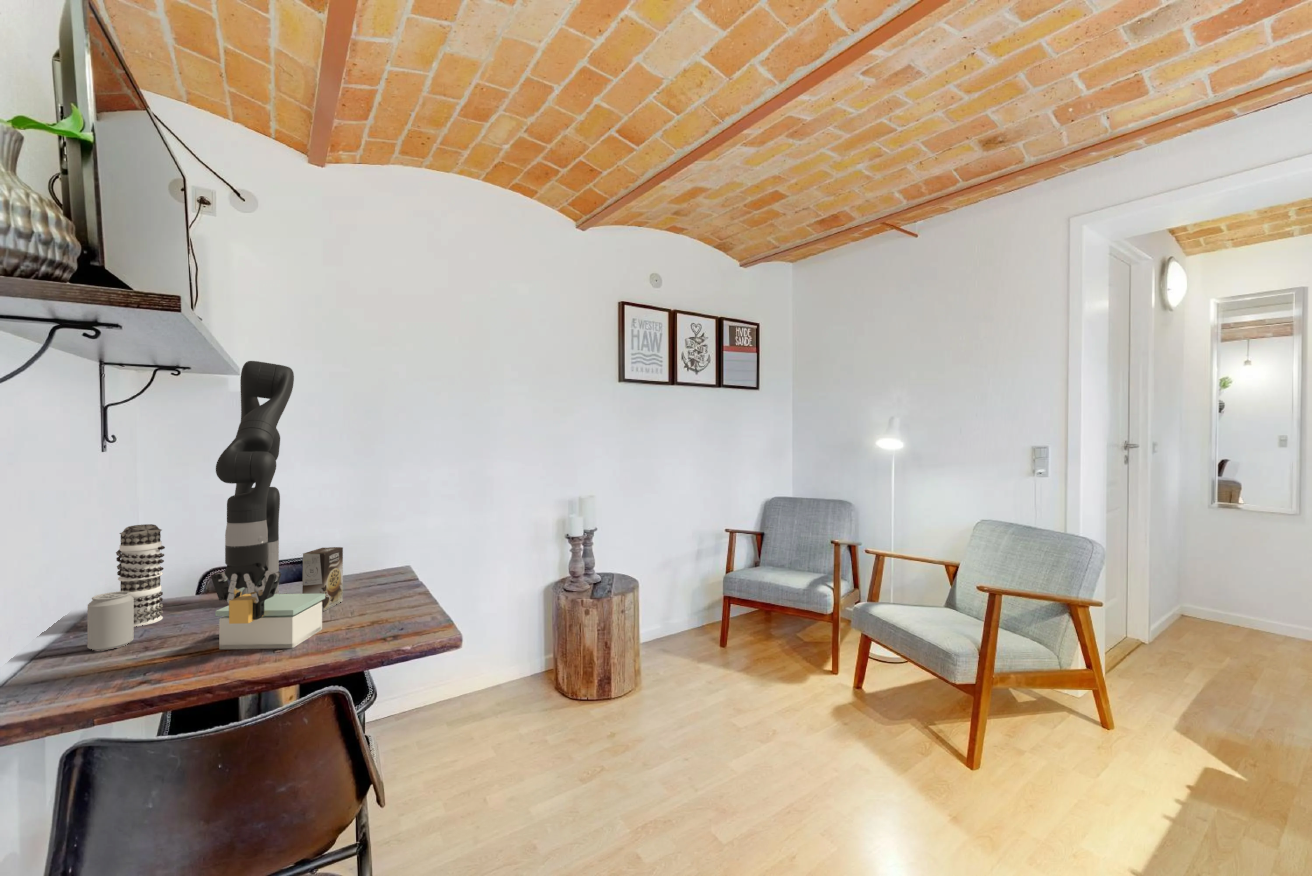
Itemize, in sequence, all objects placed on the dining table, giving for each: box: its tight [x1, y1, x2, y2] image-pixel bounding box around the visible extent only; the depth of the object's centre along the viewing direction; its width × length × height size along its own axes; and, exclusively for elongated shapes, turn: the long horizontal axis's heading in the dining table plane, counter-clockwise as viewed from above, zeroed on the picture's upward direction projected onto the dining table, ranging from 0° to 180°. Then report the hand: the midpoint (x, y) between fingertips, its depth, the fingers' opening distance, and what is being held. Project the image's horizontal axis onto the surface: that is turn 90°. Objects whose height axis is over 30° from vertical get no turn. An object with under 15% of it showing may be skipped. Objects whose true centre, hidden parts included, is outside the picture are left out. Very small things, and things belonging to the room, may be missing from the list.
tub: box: [218, 602, 323, 650], centre depth 129 cm, size 16×12×7 cm
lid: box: [214, 593, 325, 624], centre depth 127 cm, size 17×18×6 cm
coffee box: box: [301, 546, 344, 612], centre depth 154 cm, size 9×6×16 cm
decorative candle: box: [115, 523, 166, 628], centre depth 141 cm, size 9×9×25 cm
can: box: [86, 590, 135, 651], centre depth 124 cm, size 8×8×12 cm
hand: (246, 618), depth 120 cm, fingers closed on lid, 4 cm apart
